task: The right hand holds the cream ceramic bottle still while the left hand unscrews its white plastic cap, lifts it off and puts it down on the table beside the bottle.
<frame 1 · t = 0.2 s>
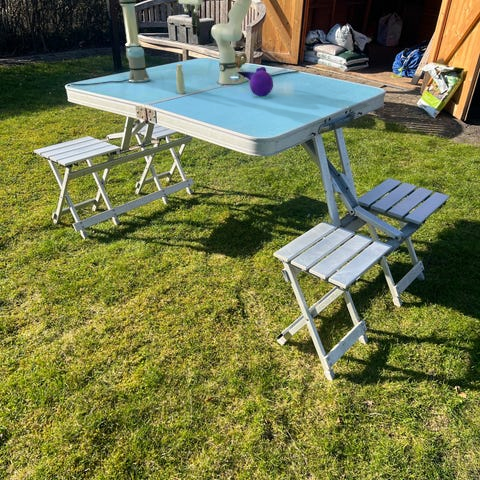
left hand: (196, 35, 349), 28 cm above the table, tool pointing down, fingers open, 13 cm apart
right hand: (191, 12, 286), 48 cm above the table, tool pointing down, fingers open, 8 cm apart
bottle: (181, 92, 302), on the table
cap: (178, 65, 293), point 18 cm above the table, screwed on, not yet turned
toy: (257, 94, 294), on the table
teapot: (235, 70, 370), on the table
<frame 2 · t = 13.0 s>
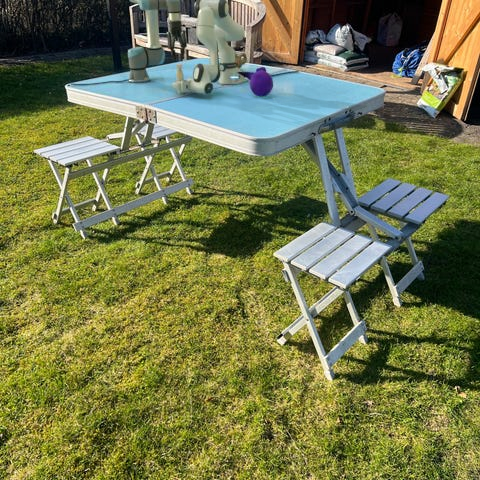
left hand: (178, 59, 291), 21 cm above the table, tool pointing down, fingers open, 6 cm apart
right hand: (179, 82, 299), 7 cm above the table, tool horizontal, fingers closed on bottle, 5 cm apart
bottle: (181, 92, 302), on the table, touching right hand
everything else where it was.
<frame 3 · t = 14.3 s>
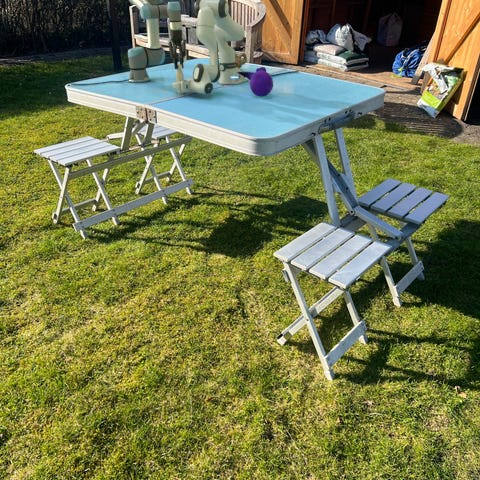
left hand: (179, 68, 294), 16 cm above the table, tool pointing down, fingers closed on cap, 4 cm apart
right hand: (179, 82, 299), 7 cm above the table, tool horizontal, fingers closed on bottle, 5 cm apart
bottle: (181, 92, 302), on the table, touching right hand
cap: (178, 65, 293), point 18 cm above the table, screwed on, not yet turned, touching left hand
everything else where it was.
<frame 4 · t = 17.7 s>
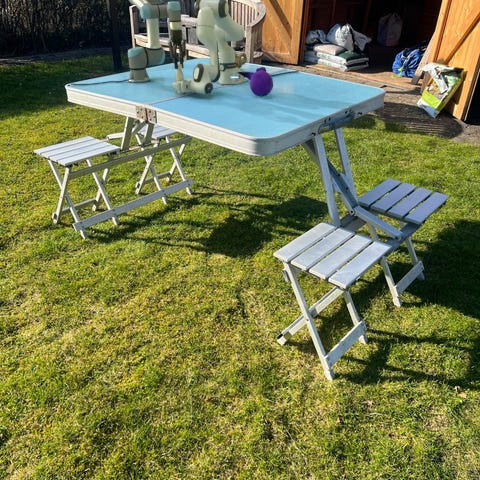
left hand: (179, 68, 294), 16 cm above the table, tool pointing down, fingers closed on cap, 4 cm apart
right hand: (179, 82, 299), 7 cm above the table, tool horizontal, fingers closed on bottle, 5 cm apart
bottle: (181, 92, 302), on the table, touching right hand
cap: (178, 65, 293), point 18 cm above the table, turned 102° so far, risen 0.1 cm, still on its thread, touching left hand
everything else where it was.
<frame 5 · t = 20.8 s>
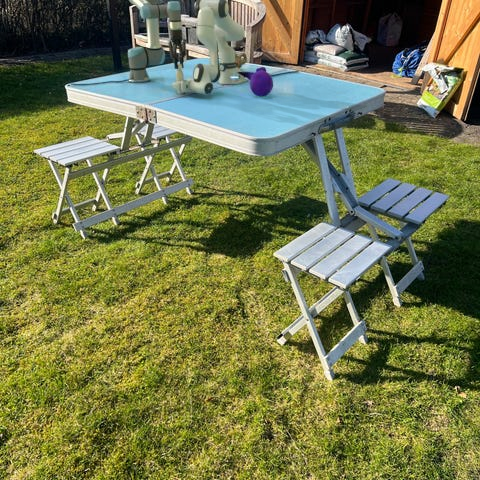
left hand: (179, 68, 294), 16 cm above the table, tool pointing down, fingers closed on cap, 4 cm apart
right hand: (179, 82, 299), 7 cm above the table, tool horizontal, fingers closed on bottle, 5 cm apart
bottle: (181, 92, 302), on the table, touching right hand
cap: (178, 65, 293), point 18 cm above the table, turned 205° so far, risen 0.2 cm, still on its thread, touching left hand
everything else where it was.
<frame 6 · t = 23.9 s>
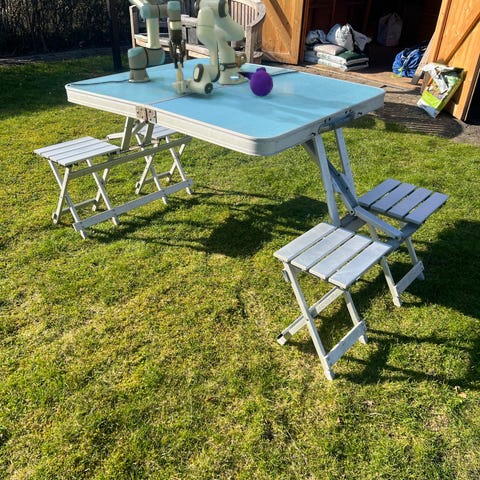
left hand: (179, 68, 294), 16 cm above the table, tool pointing down, fingers closed on cap, 4 cm apart
right hand: (179, 82, 299), 7 cm above the table, tool horizontal, fingers closed on bottle, 5 cm apart
bottle: (181, 92, 302), on the table, touching right hand
cap: (178, 64, 293), point 18 cm above the table, turned 307° so far, risen 0.3 cm, still on its thread, touching left hand
everything else where it was.
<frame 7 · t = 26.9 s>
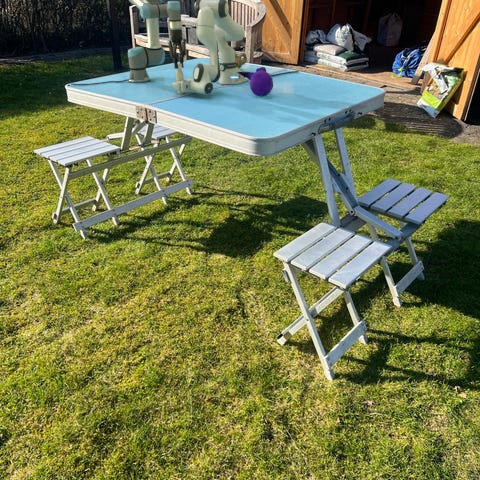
left hand: (179, 67, 294), 16 cm above the table, tool pointing down, fingers closed on cap, 4 cm apart
right hand: (179, 82, 299), 7 cm above the table, tool horizontal, fingers closed on bottle, 5 cm apart
bottle: (181, 92, 302), on the table, touching right hand
cap: (178, 64, 293), point 18 cm above the table, turned 410° so far, risen 0.3 cm, still on its thread, touching left hand
everything else where it was.
when the left hand's fingers open (1 cm above the table, at t = 32.9 s): cap drops 1 cm, point 2 cm above the table.
when the right hand's fingers open (7 cm above the table, at t = 34.2 s): bottle stays where it is, on the table.
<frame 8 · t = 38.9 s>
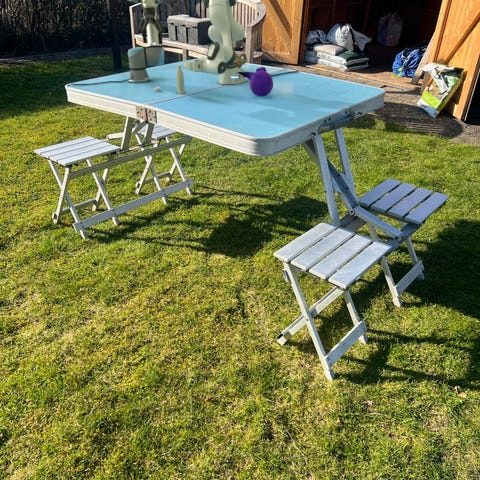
left hand: (152, 43, 293), 30 cm above the table, tool pointing down, fingers open, 13 cm apart
right hand: (190, 62, 284), 20 cm above the table, tool horizontal, fingers open, 8 cm apart
bottle: (181, 92, 302), on the table
cap: (157, 88, 307), point 2 cm above the table, off its thread
everything else where it was.
at the end: cap came off its thread; cap point 1.9 cm above the table; the left hand is holding nothing; the right hand is holding nothing; bottle tilted 0°; bottle moved 0.1 cm from its start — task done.
